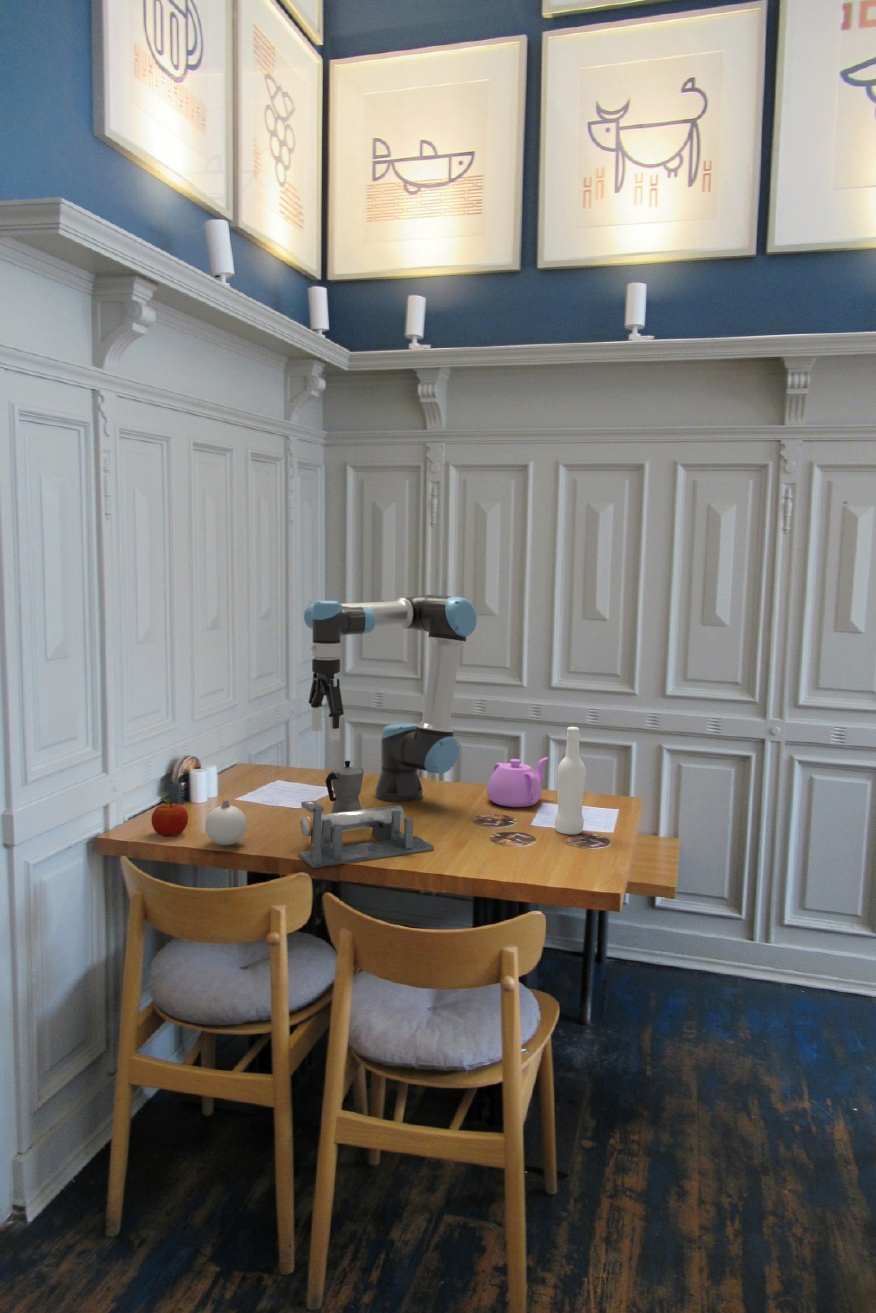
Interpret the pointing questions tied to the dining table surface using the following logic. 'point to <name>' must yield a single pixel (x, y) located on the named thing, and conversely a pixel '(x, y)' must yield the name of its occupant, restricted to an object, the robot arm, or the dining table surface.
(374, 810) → the tube
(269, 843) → the dining table surface
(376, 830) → the rest chocks
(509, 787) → the teapot
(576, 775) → the bottle
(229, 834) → the ornament
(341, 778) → the coffeepot
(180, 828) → the fruit
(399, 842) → the grey tube stand
